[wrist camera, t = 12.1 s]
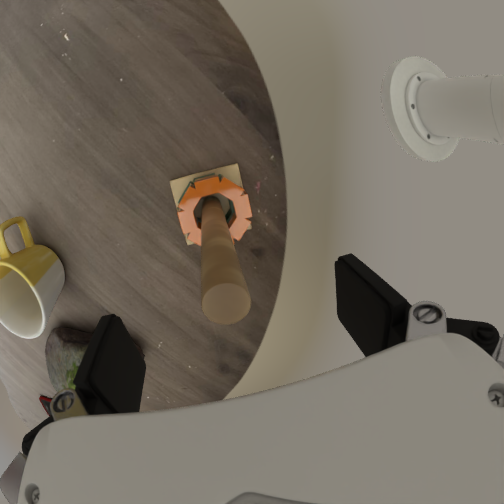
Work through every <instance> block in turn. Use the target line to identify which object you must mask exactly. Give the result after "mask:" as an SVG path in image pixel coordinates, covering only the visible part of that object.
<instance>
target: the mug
mask: <svg viewBox="0 0 504 504" xmlns="http://www.w3.org/2000/svg"><path fill="white" fill-rule="evenodd" d="M15 223H17V224H18V226H19V228H20V231H21V234H22V237H23V240H24V243H25V247H26V248H25V249H23V250H21V251H19V252H16V253H14V254H12V253H11V252H10V251H9V249H8V247H7V245H6V242H5V238H4V230H5V229H7V228H8V227H9V226H11V225H13V224H15ZM0 257H1V260H0V322H1V323H2V324H3V325H4V326H5V327H6V328H7V329H8V330H9V331H10V332H12V333H13V334H15V335H17V336H20V337H22V338H27V339H32V338H36V337H38V336H39V335H41V333H42V332H43V330H44V328H45V326H46V324H47V322H48V319H49V317H50V314H51V312H52V310H53V307H54V305H55V303H56V301H57V299H58V296H59V294H60V292H61V290H62V288H63V286H64V281H65V273H64V269H63V265H62V263H61V261H60V259H59V258H58V256H57V255H56V254H55V253H54V252H53V251H52V250H51V249H49V248H48V247H46V246H43V245H35V244H34V241H33V238H32V236H31V233H30V230H29V227H28V224H27V222H26V220H25V218H23V217H15V218H12V219H9V220H7V221H5V222H3V223H2V224H1V225H0Z"/></svg>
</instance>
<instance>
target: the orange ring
mask: <svg viewBox="0 0 504 504" xmlns="http://www.w3.org/2000/svg"><path fill="white" fill-rule="evenodd" d="M194 184H195V185H193V184H192V183H191V184H190V185H189V187H188V188H187V190H186V192H185V194H184V195H183V197H182V199H181V200H180V202H179V205H178V208H179V209H178V211H177V215H178V218H179V222H180V225H181V228H182V232H183V234H188V235H187V239H188V240H190V241H192V242H194V243H196V244H197V245H199V246H201V224H202V223H200V222H199V221H198V219H197V216H196V212H195V208H196V206H197V204H198V203H199V201H200V199H201V198H202V197H204V196H208V195H212V194H216V193H219V194H221V195H223V196H225V197H226V198H228V199H230V200H231V201H232V206H233V210H234V213H233V214H232V216H231V217H230V219H229V221H228V222H227V225H228V228H229V231H230V235H231V238H232V241H233V244H235V243H234V239H236V240H238V241H240V239H241V237H242V236H243V234H244V233H245V231H246V230H247V228H248V227H249V225H250V224H251V220H250V219H249V217H252V211H251V207H250V202H249V197H248V194H247V193H246V192H245V191H244V189H243V187H242V186H240V185H239V184H237V183H235V182H234V181H232V180H230V179H229V178H227V177H225V176H224V175H222V176H221V178H220V179H219V177H218V175H217V174H215V175H211V176H207V177H204V178H200V179H196V180H195V182H194ZM233 238H234V239H233Z"/></svg>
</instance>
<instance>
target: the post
mask: <svg viewBox="0 0 504 504" xmlns="http://www.w3.org/2000/svg"><path fill="white" fill-rule="evenodd" d="M212 173H215V174H217V175H219V174H221V175H224V176H225V177H227V178H229V179H230V180H232V181H234V182H235V183H237V184H239V185H240V186H242V187H243V185H242V180H241V176H240V171H239V167H238V164H237V163H236V164H231V165H227V166H223V167H219V168H215V169H211V170H207V171H203V172H199V173H195V174H191V175H188V176H184V177H180V178H177V179H173V180H170V185H171V189H172V193H173V197H174V200H175V204H176V207H178V205H179V203H178V201H179V199H180V197H181V195H182V194H183V192H184V190H185V189H186V187H187V185H188V183H189V182H190V181H191V182H193V180H194V178H196V177H200V176H204V175H208V174H212ZM193 183H194V182H193ZM229 209H230V206H229V202H228V198H226V197H225V196H223V195H221V194H219V193H216V194H212V195H208V196H204V197H202V198H201V199H200V201H199V203H198V204H197V206H196V208H195V212H196V216H197V217H198V218H200V219H202V224H201V306H202V311H203V313H204V314H205V316H206V317H207V318H208V319H209V320H211V321H213V322H215V323H217V324H223V325H227V324H233V323H236V322H238V321H240V320H241V319H243V318H244V317H245V316H246V315H247V313H248V312H249V310H250V307H251V298H250V295H249V292H248V288H247V285H246V282H245V279H244V276H243V273H242V270H241V266H240V263H239V260H238V257H237V254H236V251H235V247H234V244H233V241H232V238H231V235H230V231H229V228H228V225H227V222H226V218H225V215H226V214H227V212H228V210H229ZM177 211H178V210H177ZM249 219H250V217H249ZM249 229H252V227H251V224H250V225H249V227H248V228H247V230H249ZM184 235H185V238H186V241H187V245H190V244H194V242H192V241H190V240H188V239H187V235H188V234H184Z"/></svg>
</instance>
